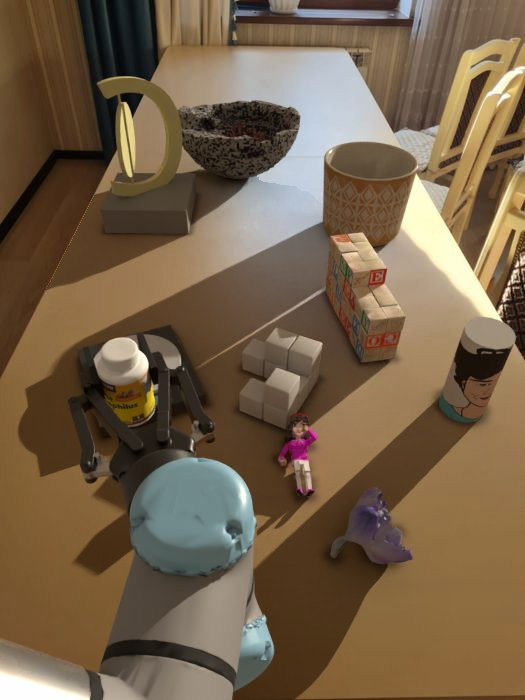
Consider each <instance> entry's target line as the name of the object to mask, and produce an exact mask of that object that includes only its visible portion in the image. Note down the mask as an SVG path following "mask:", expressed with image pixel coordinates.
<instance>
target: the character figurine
mask: <svg viewBox="0 0 525 700" xmlns="http://www.w3.org/2000/svg"><path fill="white" fill-rule="evenodd" d="M318 438H319V436H318V435H317V434H316V433H315V432H314V431H313V429H312V428H311V427H310V420H309V416H308V415H307V414H306V413H303V412H300V413H299V412H297V413H296V414H293V415H292V416H290V421H289V424H288V426H287V429H286V435H285V434H284V436H283V440H284V442H285V443H284V446H283V447H282V450H281V452H280V453H279V455H278V457H277V461H278V463H279V464H280V467H284V466H285V467H286V466H287V463H288V461H287V458H285V456H286V455H287V452H288V451H289V454H290V455H291V456H290V460H289V465H291V467H292V468H294V473H295V480H296V486H297V488H296V489H295V493H296V494H297V495H298V497H303V496H304V491H303V486H302V479H301V475H302V476H303V477H304V486H305V495H306V497H309V498H310V497H312V496H313V495H314V493H315V491H316V490H315V488H312V487H313V486H312V475H311V468H310V462H309V458H308V455H307V454H308V452H309V447H310V446H311V445H312V444H313V443H314V442H316V441H317V440H318Z"/></svg>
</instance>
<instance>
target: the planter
mask: <svg viewBox="0 0 525 700" xmlns="http://www.w3.org/2000/svg"><path fill="white" fill-rule="evenodd" d="M418 168H419V162H418V159H417V158H416V157H415V155H413V154H412V153H411V152H409V151H408V150H406V149H403V148H401V147H398V146H395V145H392V144H388V143H385V142H384V143H383V142H377V141H351V142H344V143H340V144H338V145H335V146H333V147H330V148H329V149H328V150H327V151H326V152H325V154H324V156H323V191H322V193H323V196H322V199H323V200H322V201H323V202H322V225H323V228H324V231H325V232H326V233H327V234H328V236H329V237H330V236H335V235H343V234H346V235H347V234H353V233H363V234H364V235H365V237H366V238H367V240H368V242H369V243H370V245H371V246H372V248H375V247H380V246H384V245H387V244H389V243H390V242H391V241H393V240H394V239H395V238H396V237H397V236H398V234H399V233H400V230H401V227H402V223H403V221H404V217H405V213H406V210H407V206H408V202H409V199H410V196H411V194H412V193H411V192H412V189H413V186H414V182H415V179H416V175H417V171H418Z"/></svg>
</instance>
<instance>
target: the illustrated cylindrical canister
mask: <svg viewBox="0 0 525 700" xmlns="http://www.w3.org/2000/svg"><path fill="white" fill-rule="evenodd" d="M516 339H517V337H516V333H515V331H514V330H513V328H512V327H510V326H509V325H508V324H507V323H505V322H504V321H501V320H499V319H496V318H493V317H488V316H478V317H477V316H476V317H473V318H470V319H469V320H468V321H466V322H465V325H464V327H463V330H462V333H461V335H460V337H459V341H458V344H457V347H456V350H455V353H454V356H453V359H452V362H451V365H450V368H449V369H448V373H447V375H446V379H445V382H444V385H443V387H442V390H441V393H440V396H439V399H438V406H439V408H440V409H441V411H442V412H443V413H444V414H445V415H446V416H447V417H448V418H450V419H451V420H454V421H457V422H459V423H465V424H467V423H468V424H469V423H475V422H477V421H479V420H481V418H482V417H483V416H484V413H485V412H486V409H487V407H488V405H489V403H490V400H491V397H492V396H493V393H494V391H495V388H496V386H497V384H498V381H499V379H500V377H501V375H502V372H503V371H504V369H505V365H506V363H507V362H508V359H509V356H510V354H511V352H512V350H513V347H514V345H515V342H516Z"/></svg>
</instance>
